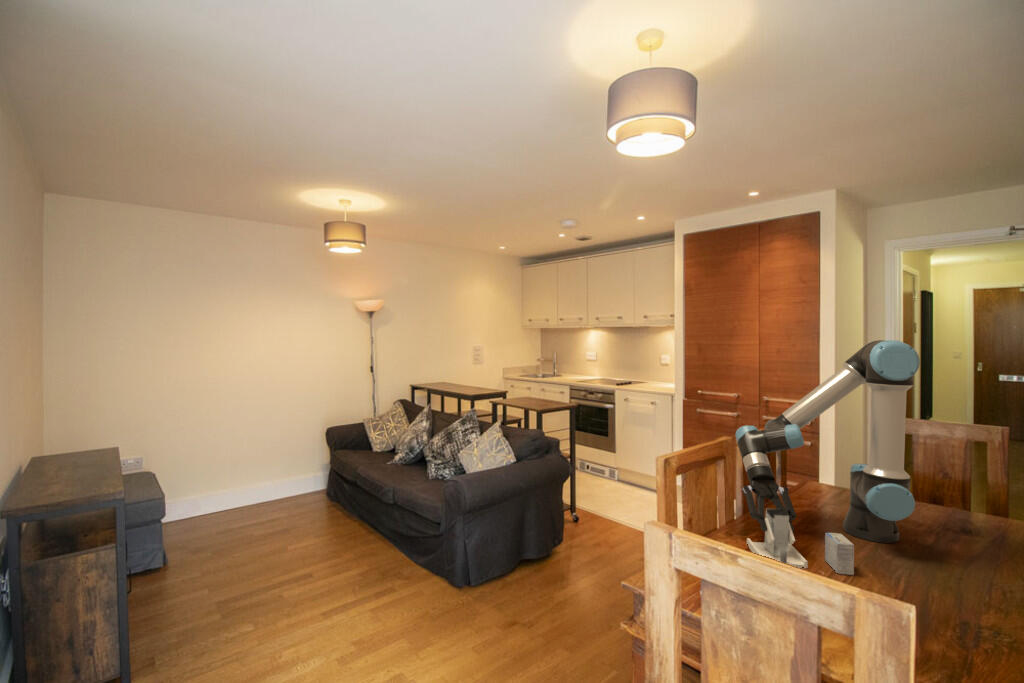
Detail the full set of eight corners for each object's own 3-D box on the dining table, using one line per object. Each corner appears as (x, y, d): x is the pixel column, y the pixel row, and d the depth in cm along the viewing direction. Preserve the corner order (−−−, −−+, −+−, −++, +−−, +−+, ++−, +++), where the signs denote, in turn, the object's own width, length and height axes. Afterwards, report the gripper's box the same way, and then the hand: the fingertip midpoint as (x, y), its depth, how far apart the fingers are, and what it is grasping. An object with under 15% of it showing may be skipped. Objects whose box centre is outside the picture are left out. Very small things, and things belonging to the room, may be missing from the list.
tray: (787, 547, 152) (788, 534, 152) (807, 568, 139) (807, 554, 139) (746, 544, 154) (746, 531, 154) (762, 565, 140) (762, 551, 140)
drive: (778, 548, 149) (779, 508, 149) (787, 557, 143) (789, 516, 143) (764, 547, 150) (765, 508, 150) (773, 556, 144) (774, 515, 144)
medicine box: (854, 576, 135) (855, 544, 135) (836, 574, 136) (836, 543, 136) (841, 563, 143) (841, 533, 142) (824, 561, 143) (824, 531, 143)
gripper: (783, 476, 161) (809, 548, 145) (726, 475, 162) (745, 545, 146) (791, 465, 155) (819, 538, 139) (733, 463, 157) (753, 535, 141)
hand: (781, 541), depth 143 cm, fingers open, 5 cm apart
